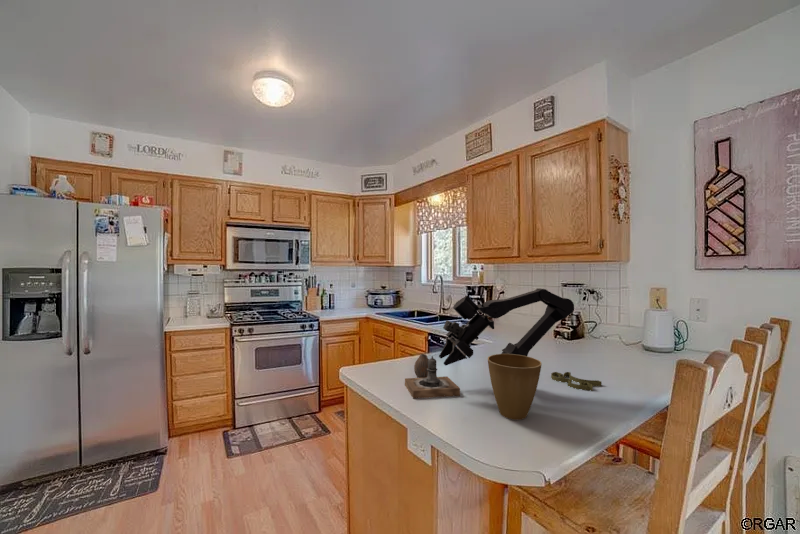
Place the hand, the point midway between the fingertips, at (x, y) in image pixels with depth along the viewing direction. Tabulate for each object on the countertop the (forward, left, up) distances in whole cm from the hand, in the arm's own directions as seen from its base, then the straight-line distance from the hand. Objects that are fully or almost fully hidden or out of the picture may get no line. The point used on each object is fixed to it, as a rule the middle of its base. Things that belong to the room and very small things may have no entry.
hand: (441, 360), depth 122 cm
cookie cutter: (-52, -1, -11) cm, 54 cm away
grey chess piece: (+3, 0, -10) cm, 11 cm away
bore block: (+4, -1, -10) cm, 11 cm away
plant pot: (-14, +23, -10) cm, 29 cm away
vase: (+3, -16, -10) cm, 19 cm away
